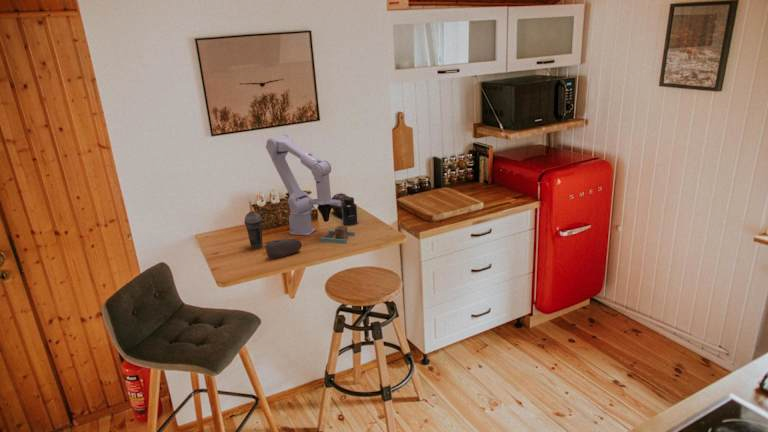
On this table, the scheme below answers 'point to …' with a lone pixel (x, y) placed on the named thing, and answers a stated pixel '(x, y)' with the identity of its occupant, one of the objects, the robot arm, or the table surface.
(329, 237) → the channel
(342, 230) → the walnut block
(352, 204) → the supplement bottle
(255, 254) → the table surface
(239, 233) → the table surface
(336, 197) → the pine cone
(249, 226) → the beverage cup
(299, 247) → the perforated stone tool
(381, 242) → the table surface
